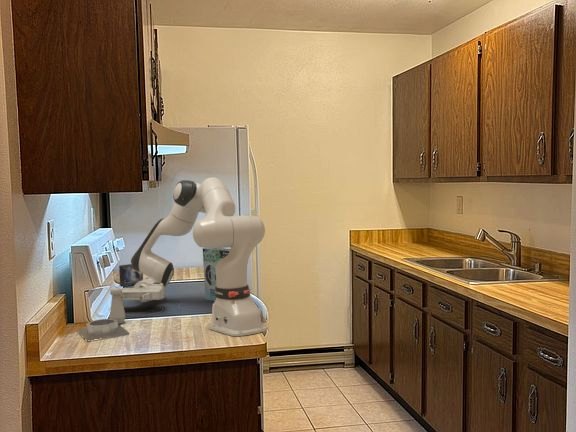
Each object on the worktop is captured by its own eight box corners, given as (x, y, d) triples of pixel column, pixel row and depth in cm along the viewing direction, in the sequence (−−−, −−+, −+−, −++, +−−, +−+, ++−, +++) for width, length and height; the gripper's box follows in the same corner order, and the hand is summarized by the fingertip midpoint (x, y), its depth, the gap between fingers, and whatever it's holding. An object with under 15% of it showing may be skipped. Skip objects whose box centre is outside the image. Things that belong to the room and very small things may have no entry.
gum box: (241, 303, 233) (238, 249, 231) (231, 306, 229) (229, 250, 228) (213, 297, 247) (211, 246, 245) (204, 299, 244) (201, 247, 242)
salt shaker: (121, 324, 204) (119, 289, 204) (106, 324, 205) (104, 289, 205) (128, 321, 209) (126, 287, 210) (114, 321, 210) (112, 287, 211)
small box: (123, 287, 279) (122, 266, 279) (119, 285, 285) (118, 265, 284) (143, 284, 285) (142, 264, 284) (139, 282, 290) (138, 263, 290)
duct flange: (129, 334, 191) (128, 323, 191) (86, 342, 184) (86, 330, 184) (116, 325, 205) (116, 314, 205) (76, 331, 198) (76, 321, 197)
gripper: (120, 283, 233) (104, 290, 219) (166, 283, 230) (154, 290, 217) (121, 298, 234) (105, 306, 220) (167, 298, 231) (155, 306, 217)
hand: (130, 298), depth 218 cm, fingers open, 8 cm apart
